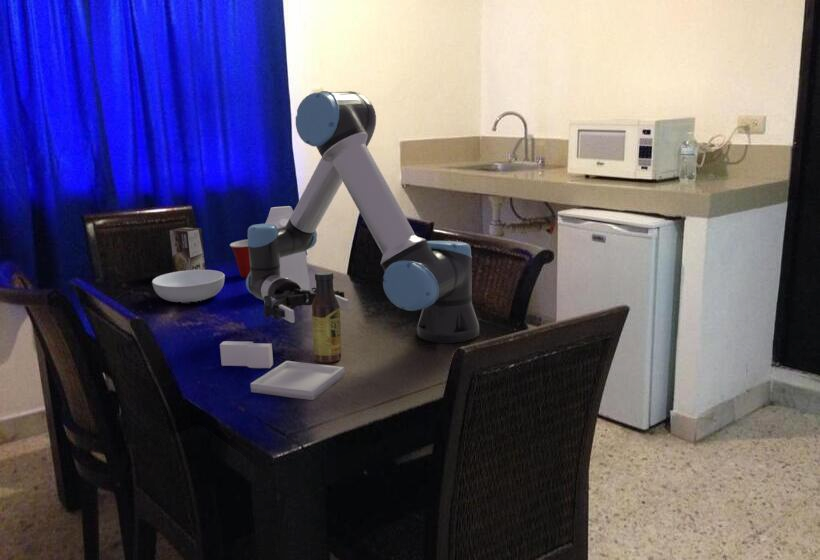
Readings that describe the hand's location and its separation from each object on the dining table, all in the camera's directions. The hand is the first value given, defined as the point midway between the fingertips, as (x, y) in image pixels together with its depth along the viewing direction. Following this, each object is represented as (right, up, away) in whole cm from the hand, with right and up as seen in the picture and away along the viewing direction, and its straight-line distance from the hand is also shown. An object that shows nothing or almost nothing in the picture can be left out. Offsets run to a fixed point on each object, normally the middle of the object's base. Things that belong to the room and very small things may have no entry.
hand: (320, 311), depth 165 cm
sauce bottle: (+1, -11, +1) cm, 11 cm away
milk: (-18, +3, +64) cm, 67 cm away
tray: (-3, -14, -12) cm, 19 cm away
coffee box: (-56, +8, +89) cm, 106 cm away
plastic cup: (-35, +8, +85) cm, 93 cm away
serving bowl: (-46, +1, +57) cm, 74 cm away
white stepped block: (-16, -13, -1) cm, 20 cm away
